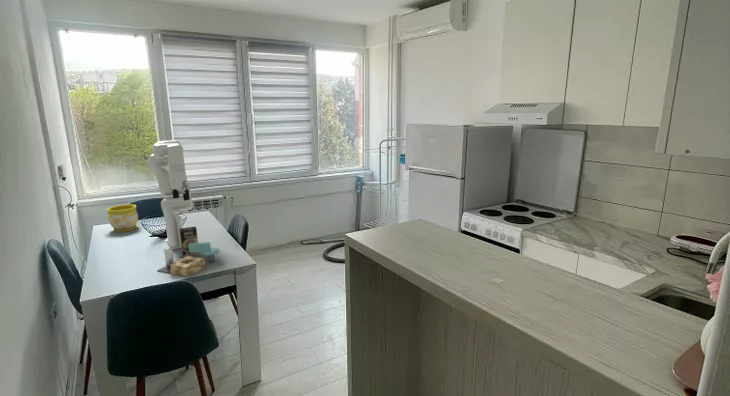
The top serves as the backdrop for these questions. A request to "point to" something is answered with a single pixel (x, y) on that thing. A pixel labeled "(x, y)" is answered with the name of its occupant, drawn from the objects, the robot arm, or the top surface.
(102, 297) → the top surface
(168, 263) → the hook peg
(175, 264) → the block
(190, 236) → the coffee box
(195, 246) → the teal toy sofa
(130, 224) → the flowerpot
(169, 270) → the place mat
